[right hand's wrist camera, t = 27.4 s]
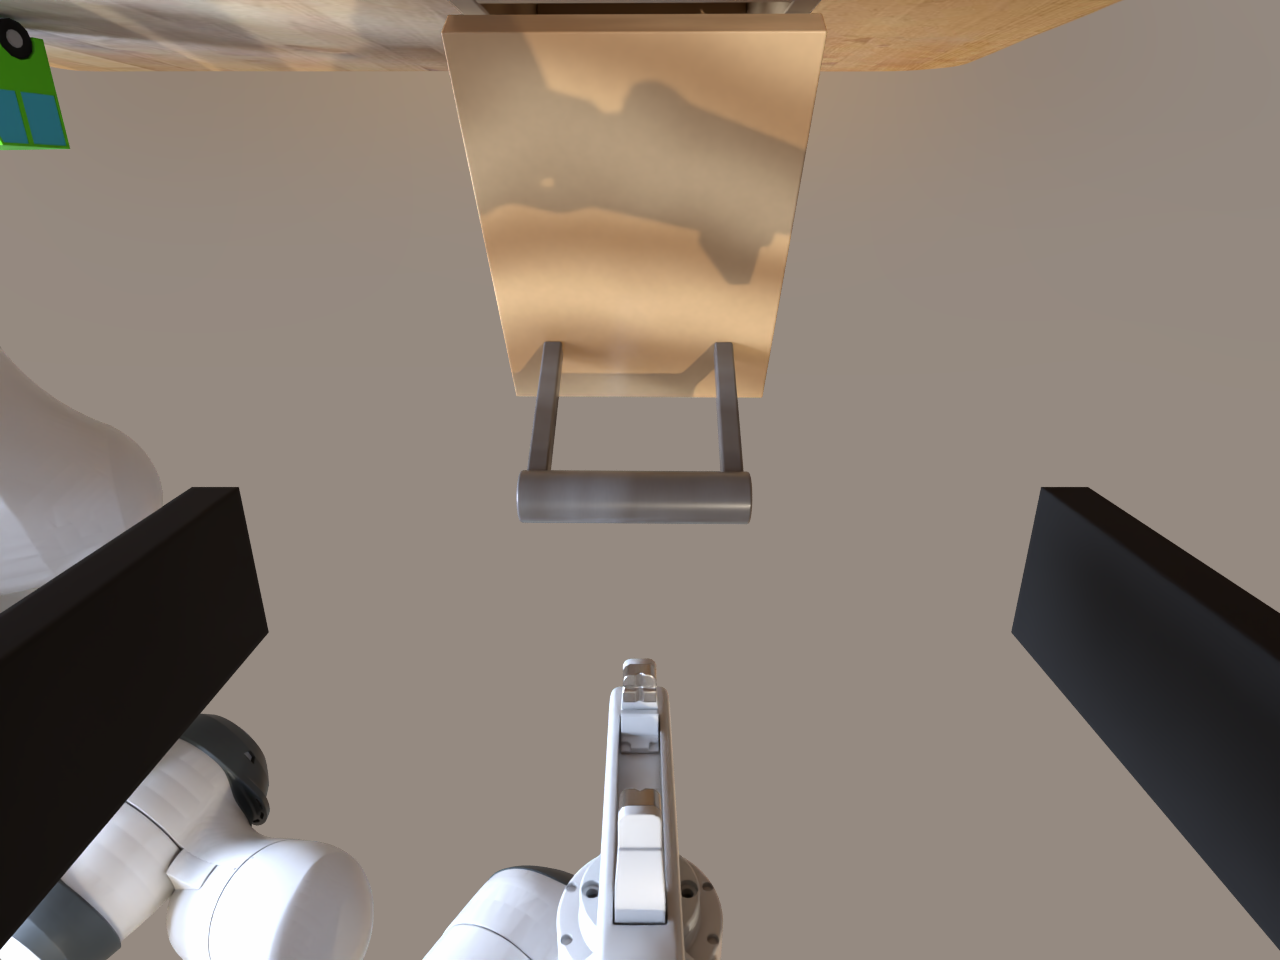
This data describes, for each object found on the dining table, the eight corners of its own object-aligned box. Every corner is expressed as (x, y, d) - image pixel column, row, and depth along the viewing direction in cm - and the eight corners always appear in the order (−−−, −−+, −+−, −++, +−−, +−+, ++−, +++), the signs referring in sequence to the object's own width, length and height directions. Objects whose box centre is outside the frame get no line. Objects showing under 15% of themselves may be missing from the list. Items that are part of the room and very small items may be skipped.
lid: (760, 378, 32) (780, 564, 26) (519, 377, 32) (491, 561, 26) (822, 12, 20) (880, 208, 15) (447, 14, 20) (372, 208, 15)
